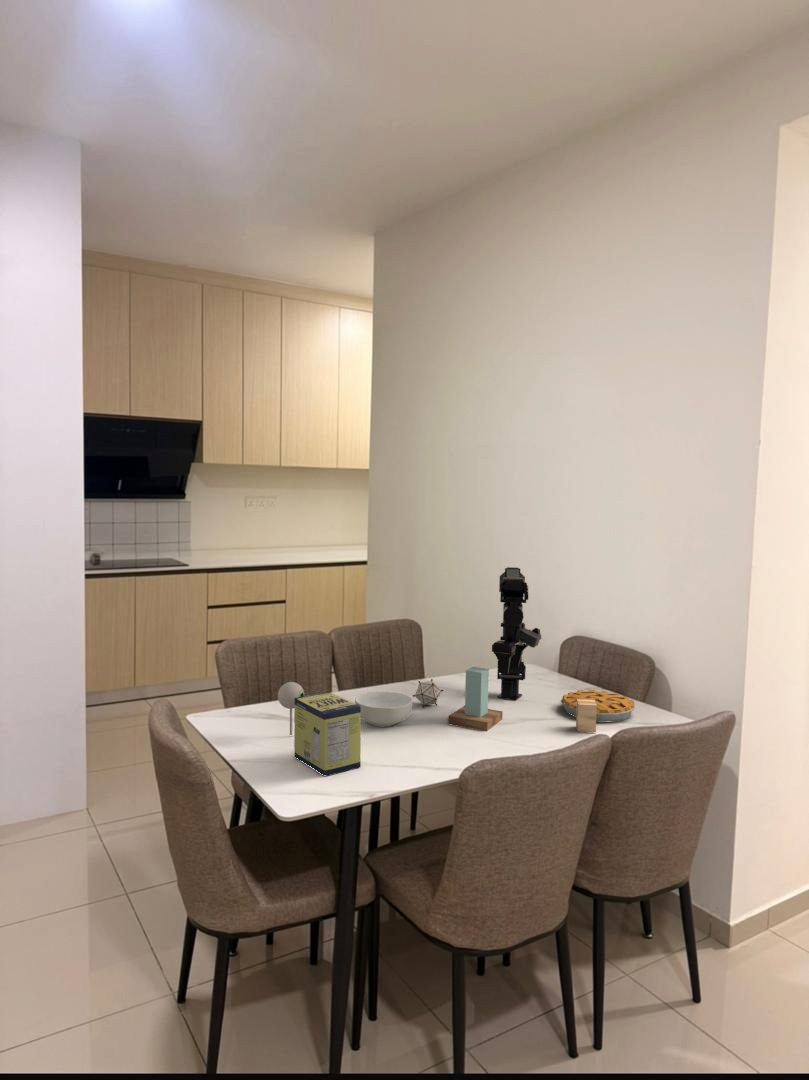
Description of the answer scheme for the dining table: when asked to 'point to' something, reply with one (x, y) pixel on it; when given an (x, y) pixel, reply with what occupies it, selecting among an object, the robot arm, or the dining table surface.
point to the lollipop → (289, 697)
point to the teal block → (476, 691)
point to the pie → (601, 704)
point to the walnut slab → (475, 719)
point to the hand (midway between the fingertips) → (511, 670)
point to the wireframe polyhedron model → (427, 693)
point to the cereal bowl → (384, 707)
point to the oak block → (586, 715)
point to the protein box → (327, 732)
